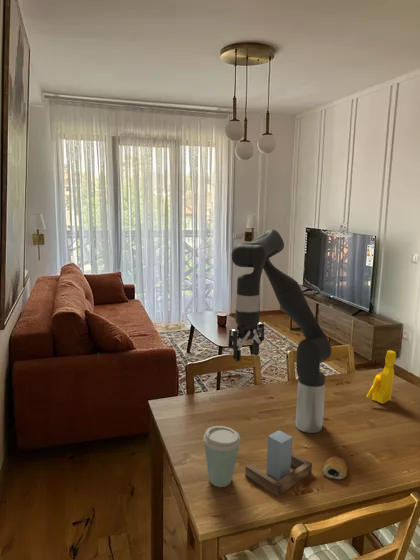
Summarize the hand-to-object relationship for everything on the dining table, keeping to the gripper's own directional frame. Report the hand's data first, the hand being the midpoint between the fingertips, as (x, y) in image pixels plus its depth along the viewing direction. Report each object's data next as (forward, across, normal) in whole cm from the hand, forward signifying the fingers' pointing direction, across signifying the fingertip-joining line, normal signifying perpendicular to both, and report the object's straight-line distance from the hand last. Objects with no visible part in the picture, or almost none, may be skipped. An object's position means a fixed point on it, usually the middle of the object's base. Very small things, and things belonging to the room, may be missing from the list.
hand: (246, 357), depth 136 cm
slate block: (+30, +4, +17) cm, 35 cm away
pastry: (+31, -10, +28) cm, 43 cm away
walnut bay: (+30, +4, +18) cm, 35 cm away
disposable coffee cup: (+30, +19, +8) cm, 37 cm away
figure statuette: (+30, -67, +16) cm, 75 cm away
